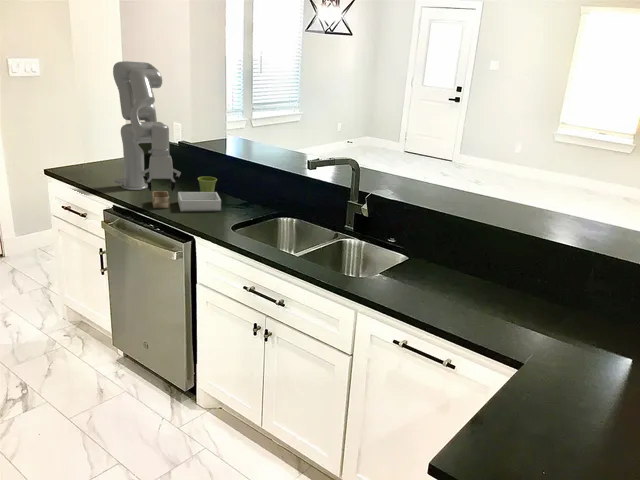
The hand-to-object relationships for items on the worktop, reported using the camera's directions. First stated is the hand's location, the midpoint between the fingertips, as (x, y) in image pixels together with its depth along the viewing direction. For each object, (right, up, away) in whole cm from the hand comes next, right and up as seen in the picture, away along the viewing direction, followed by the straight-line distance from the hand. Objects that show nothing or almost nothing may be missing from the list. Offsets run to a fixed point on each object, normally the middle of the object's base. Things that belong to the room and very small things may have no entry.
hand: (161, 190), depth 247 cm
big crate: (+16, -7, +6) cm, 18 cm away
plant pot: (+16, -1, +24) cm, 29 cm away
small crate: (-1, -6, +3) cm, 7 cm away
